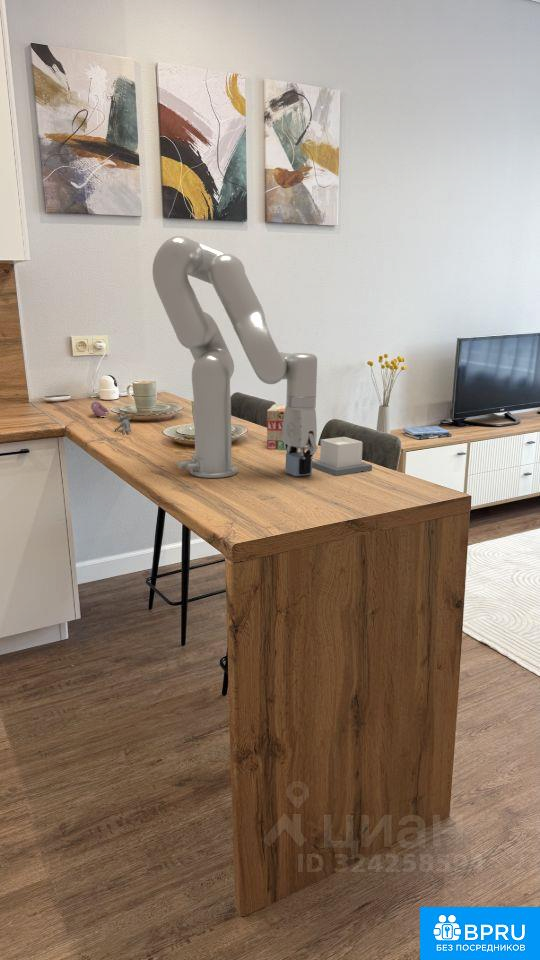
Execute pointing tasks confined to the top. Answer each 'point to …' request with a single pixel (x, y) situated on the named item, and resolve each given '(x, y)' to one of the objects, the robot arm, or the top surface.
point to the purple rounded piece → (98, 409)
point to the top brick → (294, 464)
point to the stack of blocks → (275, 427)
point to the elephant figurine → (125, 423)
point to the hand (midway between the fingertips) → (298, 470)
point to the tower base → (341, 457)
